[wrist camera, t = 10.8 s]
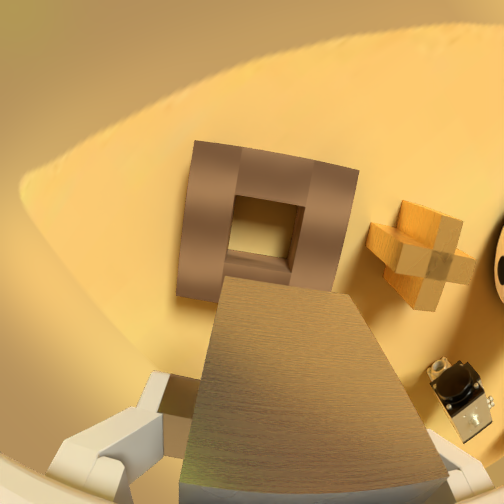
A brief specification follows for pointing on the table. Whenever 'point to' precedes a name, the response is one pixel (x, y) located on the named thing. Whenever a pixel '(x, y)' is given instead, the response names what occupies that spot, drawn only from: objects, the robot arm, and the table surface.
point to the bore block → (269, 188)
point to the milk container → (499, 265)
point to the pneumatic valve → (461, 397)
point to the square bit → (302, 408)
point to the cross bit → (421, 254)
